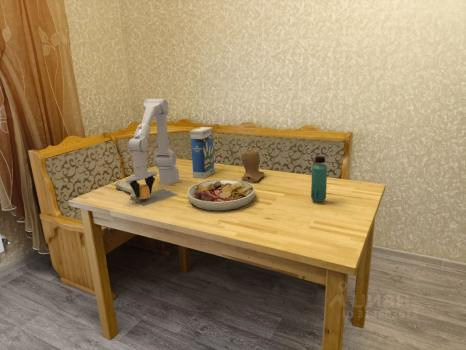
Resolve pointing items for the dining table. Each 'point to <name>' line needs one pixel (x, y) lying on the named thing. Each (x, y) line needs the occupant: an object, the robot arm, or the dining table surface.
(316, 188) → the beverage bottle
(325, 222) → the dining table surface
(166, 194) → the charcoal board
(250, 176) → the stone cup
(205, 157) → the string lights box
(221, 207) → the bowl
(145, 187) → the orange cap
